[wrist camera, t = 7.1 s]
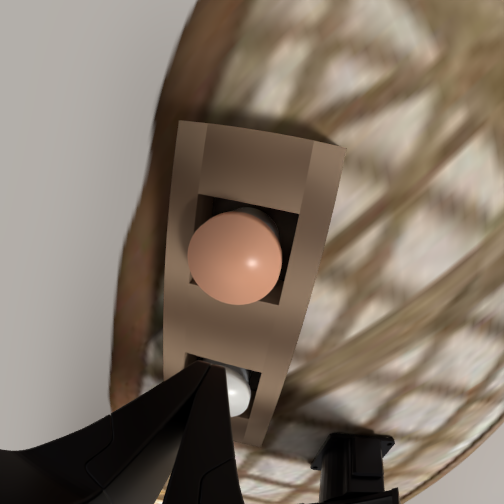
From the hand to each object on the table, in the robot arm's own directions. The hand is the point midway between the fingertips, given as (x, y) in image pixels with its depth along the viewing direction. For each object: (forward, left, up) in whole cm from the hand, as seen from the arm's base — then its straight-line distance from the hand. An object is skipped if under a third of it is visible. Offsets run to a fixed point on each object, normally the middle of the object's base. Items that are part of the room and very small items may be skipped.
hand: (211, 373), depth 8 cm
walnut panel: (-4, +1, -11) cm, 12 cm away
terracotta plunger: (+1, +1, -10) cm, 10 cm away
